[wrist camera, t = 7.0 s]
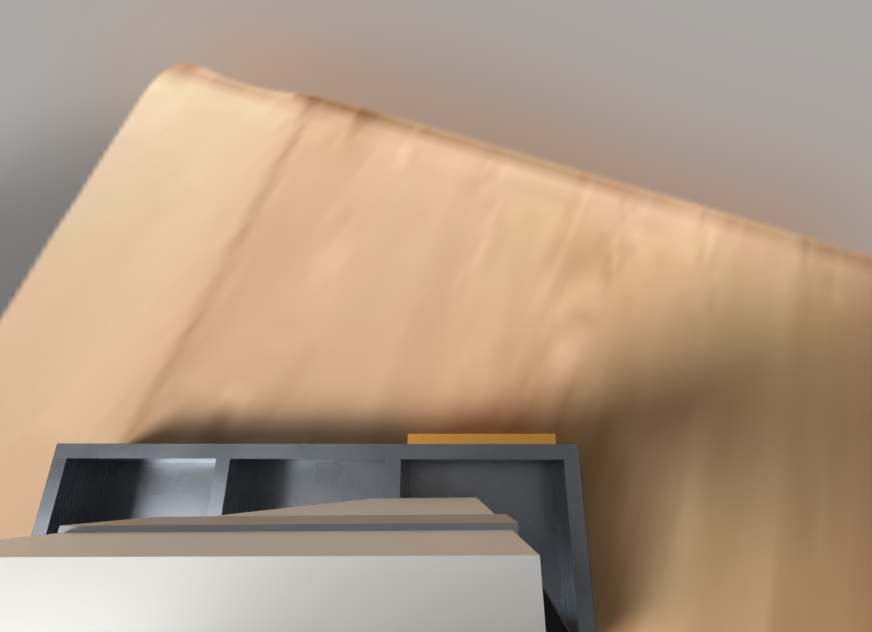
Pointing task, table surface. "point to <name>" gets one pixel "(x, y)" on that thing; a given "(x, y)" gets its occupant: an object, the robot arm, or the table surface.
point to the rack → (341, 488)
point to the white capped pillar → (280, 572)
